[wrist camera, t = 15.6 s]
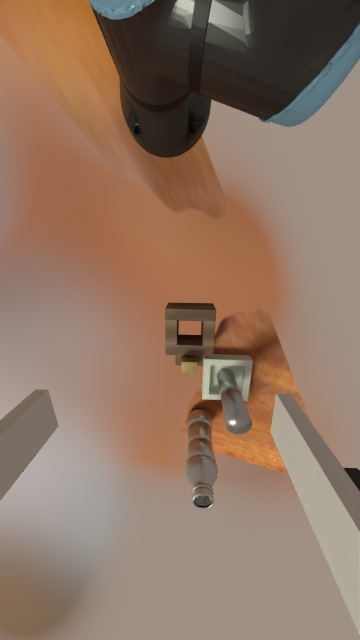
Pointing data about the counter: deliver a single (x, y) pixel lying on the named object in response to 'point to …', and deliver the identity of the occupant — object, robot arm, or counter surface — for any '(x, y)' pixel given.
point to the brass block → (189, 364)
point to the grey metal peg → (233, 403)
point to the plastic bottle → (200, 458)
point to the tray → (236, 363)
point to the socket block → (190, 343)
